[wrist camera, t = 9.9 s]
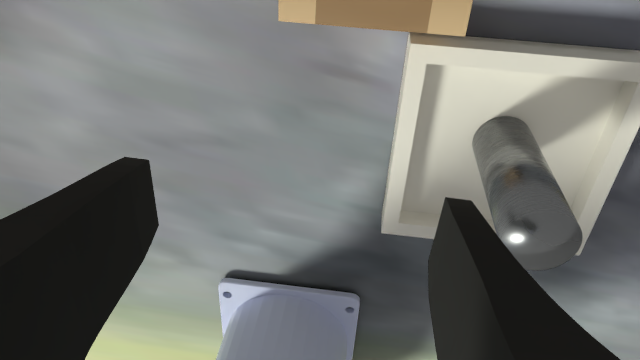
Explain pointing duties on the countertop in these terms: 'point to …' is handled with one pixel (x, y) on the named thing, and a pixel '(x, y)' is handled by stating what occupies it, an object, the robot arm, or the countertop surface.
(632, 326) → the countertop surface
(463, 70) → the tray
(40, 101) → the countertop surface
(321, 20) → the wooden square frame
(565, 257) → the cylinder
